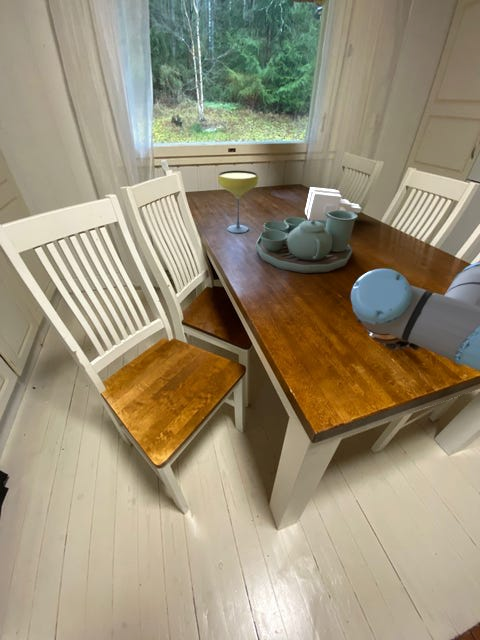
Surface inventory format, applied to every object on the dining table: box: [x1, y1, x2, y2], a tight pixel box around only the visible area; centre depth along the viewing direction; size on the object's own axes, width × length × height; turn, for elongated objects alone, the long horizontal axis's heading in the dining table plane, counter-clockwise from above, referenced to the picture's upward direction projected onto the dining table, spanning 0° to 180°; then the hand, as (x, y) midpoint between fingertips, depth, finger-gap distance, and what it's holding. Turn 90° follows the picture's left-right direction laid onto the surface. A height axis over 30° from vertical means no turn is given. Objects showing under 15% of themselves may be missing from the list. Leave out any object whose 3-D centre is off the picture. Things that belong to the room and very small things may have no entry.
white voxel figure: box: [304, 186, 362, 221], centre depth 148 cm, size 15×25×28 cm
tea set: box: [255, 210, 358, 274], centre depth 112 cm, size 40×40×16 cm
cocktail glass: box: [217, 170, 259, 234], centre depth 130 cm, size 18×18×25 cm
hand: (392, 343), depth 68 cm, fingers closed
